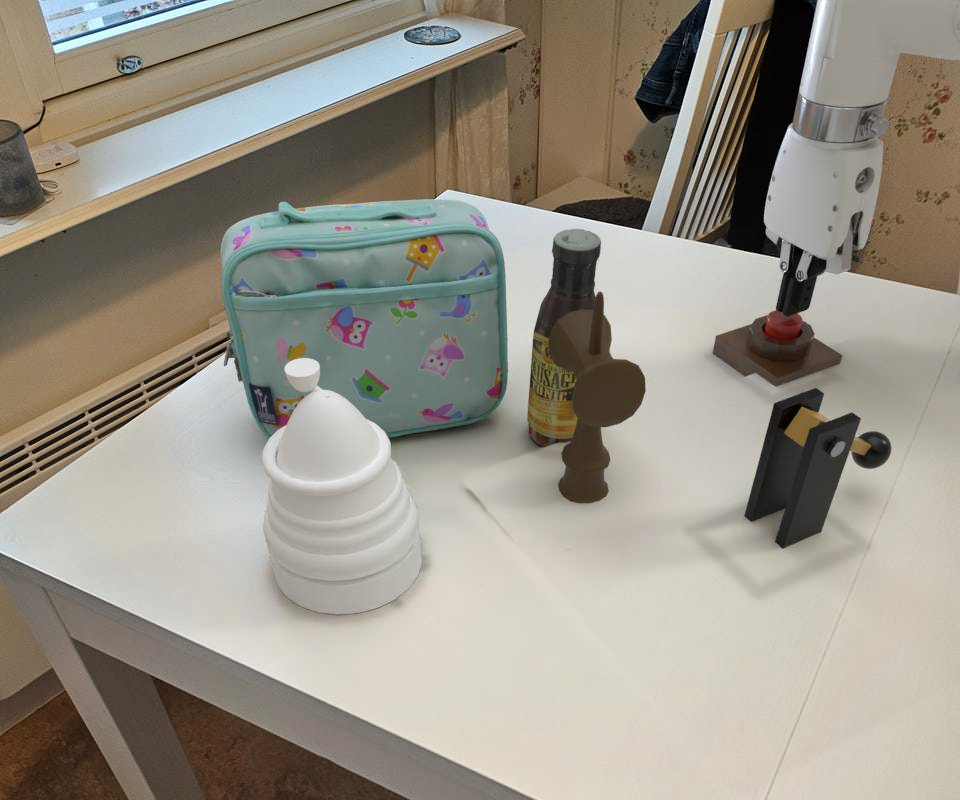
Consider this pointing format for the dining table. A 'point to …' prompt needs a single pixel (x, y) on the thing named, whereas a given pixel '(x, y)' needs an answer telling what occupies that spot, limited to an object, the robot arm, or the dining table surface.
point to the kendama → (592, 397)
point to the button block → (774, 353)
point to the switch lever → (865, 449)
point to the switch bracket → (800, 469)
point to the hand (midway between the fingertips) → (792, 309)
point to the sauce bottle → (566, 294)
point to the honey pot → (337, 505)
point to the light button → (783, 326)
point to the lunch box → (370, 310)
